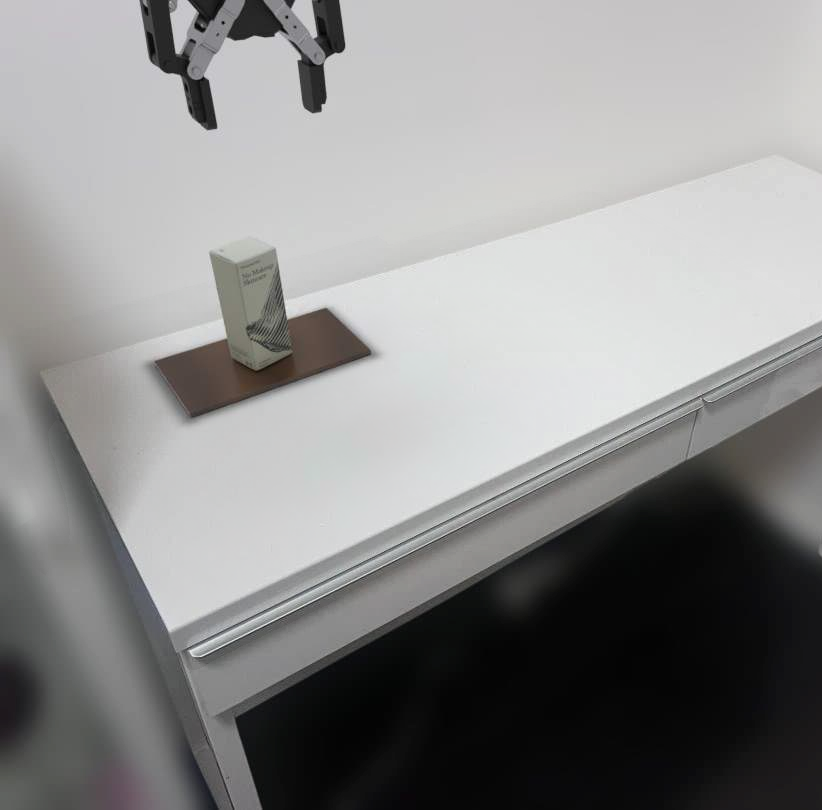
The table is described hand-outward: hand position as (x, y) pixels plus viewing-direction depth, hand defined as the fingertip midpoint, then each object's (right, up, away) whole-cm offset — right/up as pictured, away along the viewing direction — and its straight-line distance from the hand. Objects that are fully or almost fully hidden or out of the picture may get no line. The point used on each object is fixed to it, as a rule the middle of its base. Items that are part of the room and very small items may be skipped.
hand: (262, 118), depth 64 cm
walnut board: (-8, -18, +25) cm, 31 cm away
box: (-8, -17, +24) cm, 31 cm away
